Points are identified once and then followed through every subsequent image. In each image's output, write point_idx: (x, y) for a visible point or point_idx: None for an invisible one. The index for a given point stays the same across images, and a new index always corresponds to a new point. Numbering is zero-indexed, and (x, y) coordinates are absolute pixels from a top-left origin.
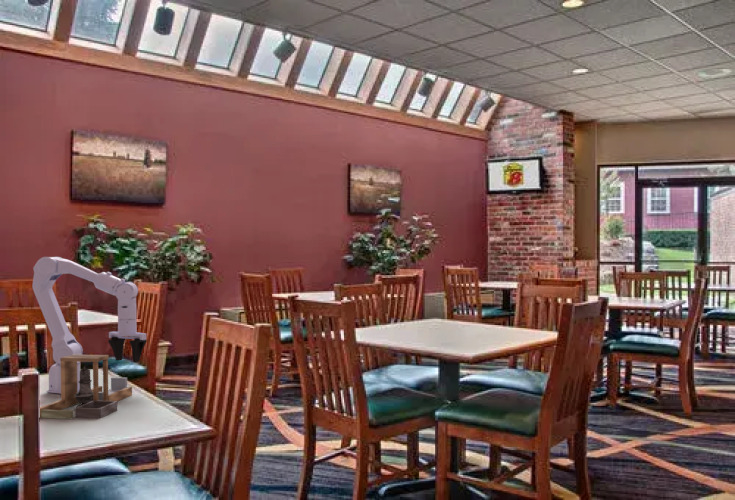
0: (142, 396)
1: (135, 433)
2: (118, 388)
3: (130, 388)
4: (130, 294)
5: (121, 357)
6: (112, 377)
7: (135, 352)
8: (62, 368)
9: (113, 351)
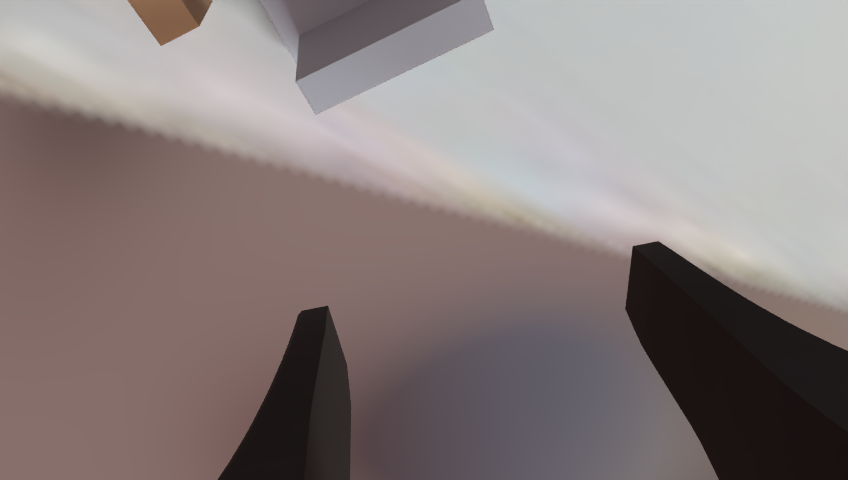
0: (17, 33)
1: None
2: (374, 2)
3: (140, 10)
4: None
5: (640, 324)
6: (490, 23)
7: (250, 432)
8: None
9: (764, 311)
